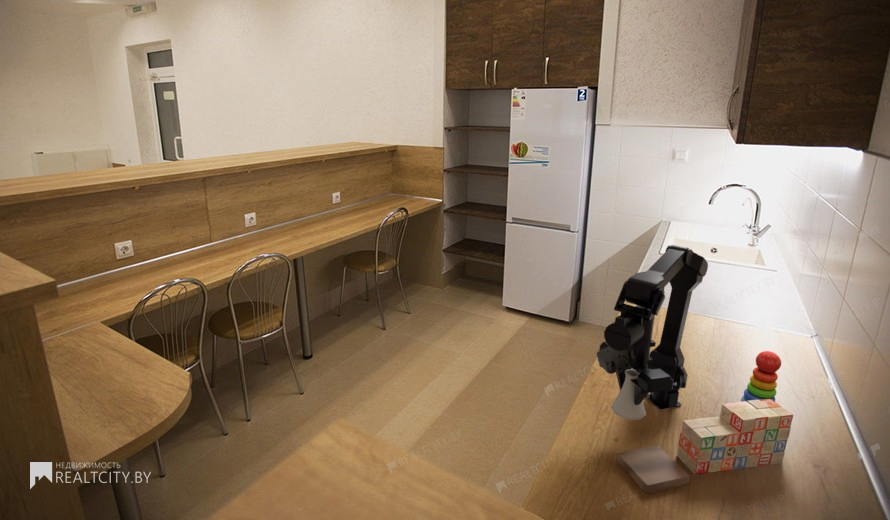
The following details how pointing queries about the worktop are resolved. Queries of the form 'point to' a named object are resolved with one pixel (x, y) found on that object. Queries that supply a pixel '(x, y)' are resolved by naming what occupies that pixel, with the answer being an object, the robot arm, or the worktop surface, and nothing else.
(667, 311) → the robot arm
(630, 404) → the flask
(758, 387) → the stacking toy
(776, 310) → the worktop surface
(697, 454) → the stack of blocks
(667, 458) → the plinth
